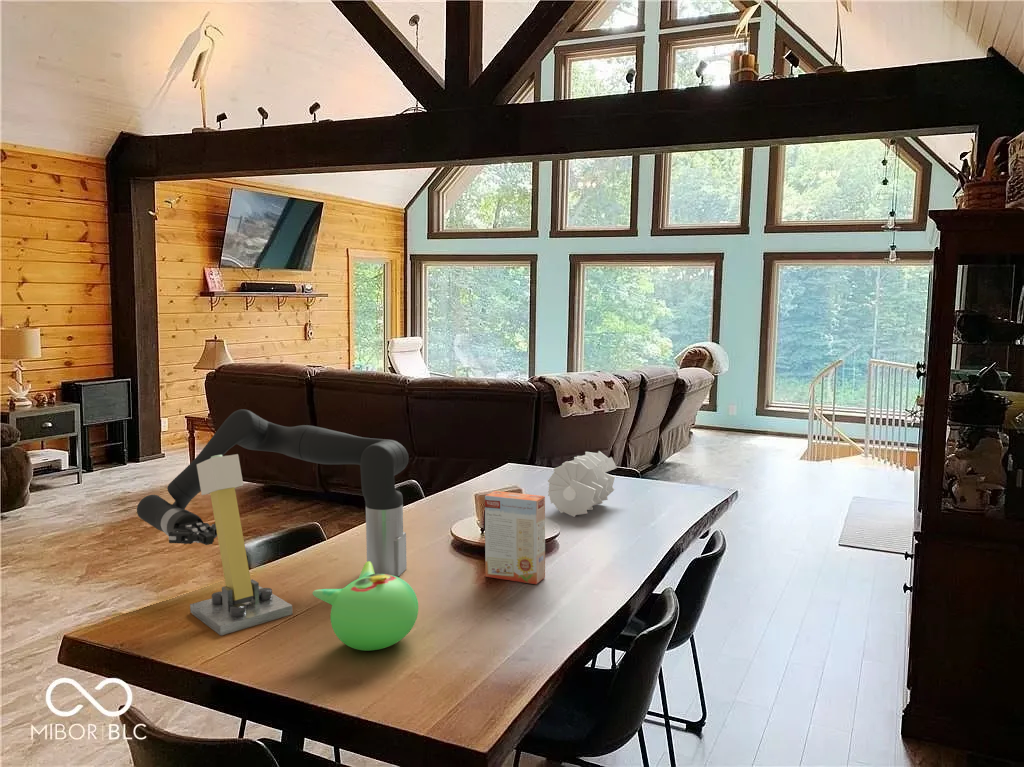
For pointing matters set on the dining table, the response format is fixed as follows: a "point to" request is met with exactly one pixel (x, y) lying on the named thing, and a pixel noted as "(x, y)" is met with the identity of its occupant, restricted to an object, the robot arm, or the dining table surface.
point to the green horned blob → (371, 610)
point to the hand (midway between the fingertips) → (209, 540)
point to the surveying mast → (227, 521)
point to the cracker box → (515, 537)
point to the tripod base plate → (240, 623)
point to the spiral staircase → (581, 483)
